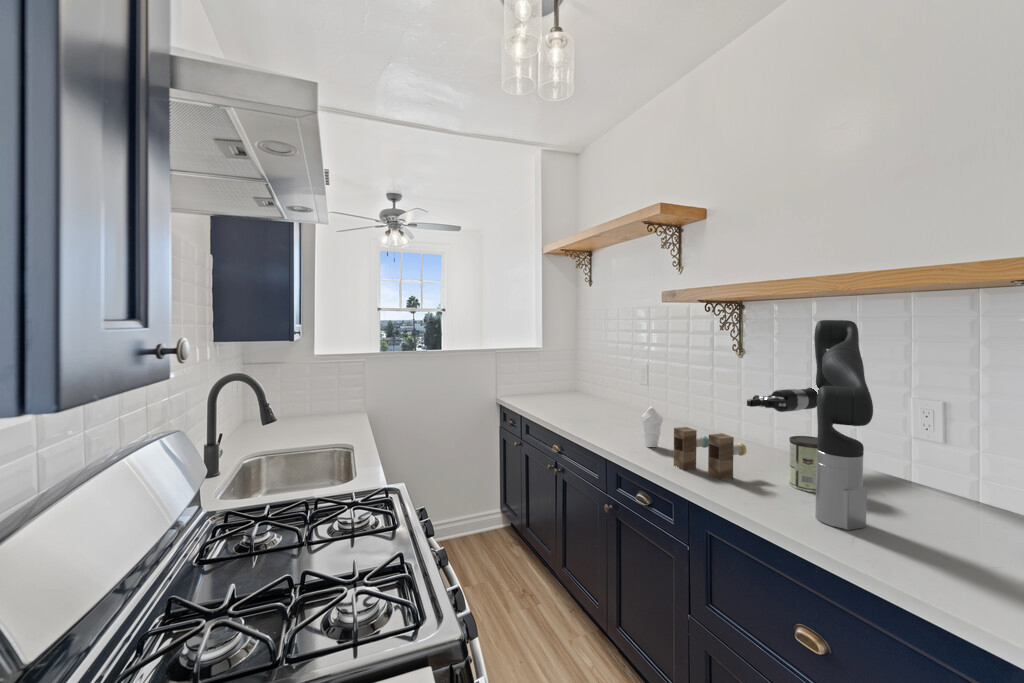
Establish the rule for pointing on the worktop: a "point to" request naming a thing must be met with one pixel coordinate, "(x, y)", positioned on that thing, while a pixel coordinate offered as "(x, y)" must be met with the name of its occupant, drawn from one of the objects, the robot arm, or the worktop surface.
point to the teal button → (702, 442)
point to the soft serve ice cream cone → (651, 427)
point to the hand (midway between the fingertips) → (748, 403)
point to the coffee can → (803, 463)
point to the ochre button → (739, 449)
